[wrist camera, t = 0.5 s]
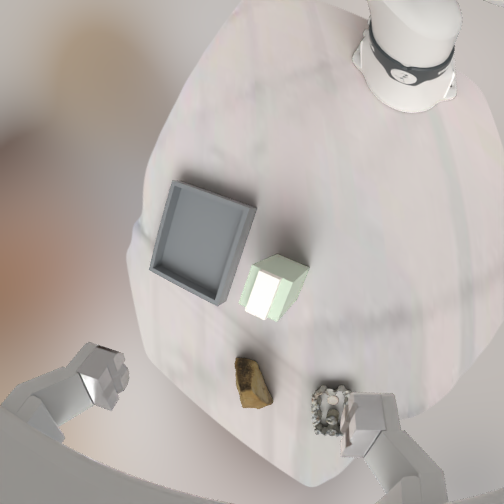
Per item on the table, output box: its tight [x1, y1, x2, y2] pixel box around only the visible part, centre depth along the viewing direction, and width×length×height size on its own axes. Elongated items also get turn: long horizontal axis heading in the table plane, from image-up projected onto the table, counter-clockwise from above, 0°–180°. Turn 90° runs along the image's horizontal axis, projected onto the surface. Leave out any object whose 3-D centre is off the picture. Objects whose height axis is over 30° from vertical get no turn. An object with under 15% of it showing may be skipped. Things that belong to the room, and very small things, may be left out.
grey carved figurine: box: [312, 385, 351, 437], centre depth 51 cm, size 11×8×4 cm
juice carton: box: [239, 254, 310, 322], centre depth 47 cm, size 6×6×13 cm
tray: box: [149, 180, 257, 306], centre depth 56 cm, size 18×16×4 cm
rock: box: [235, 358, 273, 409], centre depth 55 cm, size 11×9×10 cm
